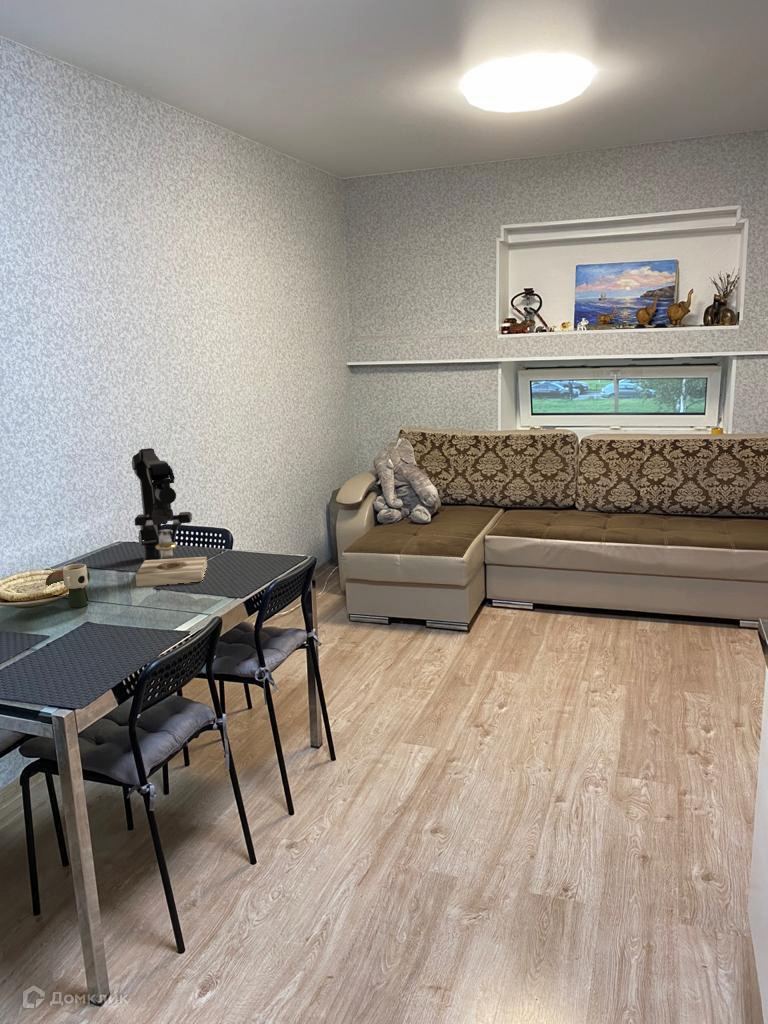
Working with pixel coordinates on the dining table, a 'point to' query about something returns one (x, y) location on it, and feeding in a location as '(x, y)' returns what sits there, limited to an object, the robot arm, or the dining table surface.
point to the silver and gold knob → (165, 543)
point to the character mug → (76, 584)
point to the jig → (171, 571)
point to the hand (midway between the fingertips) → (165, 542)
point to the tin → (59, 577)
